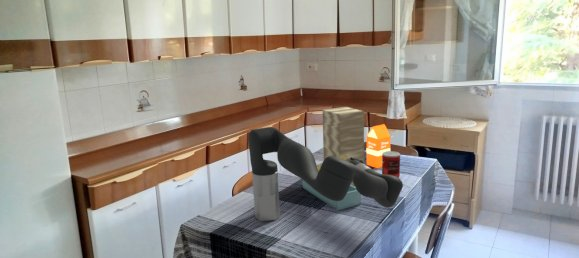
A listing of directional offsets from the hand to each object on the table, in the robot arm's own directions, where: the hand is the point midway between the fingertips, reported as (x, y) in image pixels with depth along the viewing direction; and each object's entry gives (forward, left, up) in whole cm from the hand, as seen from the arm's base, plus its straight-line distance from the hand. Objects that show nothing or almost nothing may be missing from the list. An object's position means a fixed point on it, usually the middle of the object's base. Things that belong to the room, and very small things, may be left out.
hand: (334, 158), depth 164 cm
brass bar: (+3, +1, -5) cm, 5 cm away
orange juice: (+36, -30, -17) cm, 50 cm away
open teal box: (+2, +2, -16) cm, 17 cm away
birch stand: (+18, -8, -16) cm, 25 cm away
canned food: (+18, -30, -17) cm, 39 cm away
